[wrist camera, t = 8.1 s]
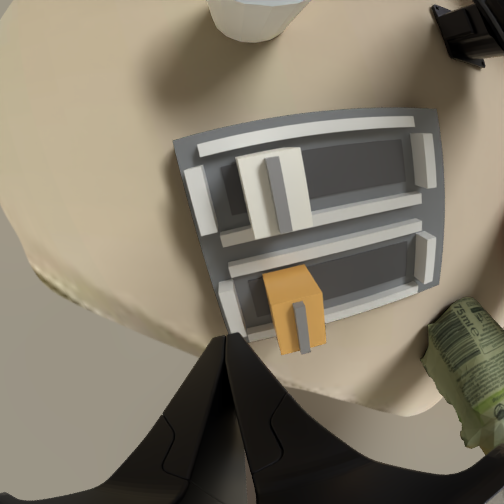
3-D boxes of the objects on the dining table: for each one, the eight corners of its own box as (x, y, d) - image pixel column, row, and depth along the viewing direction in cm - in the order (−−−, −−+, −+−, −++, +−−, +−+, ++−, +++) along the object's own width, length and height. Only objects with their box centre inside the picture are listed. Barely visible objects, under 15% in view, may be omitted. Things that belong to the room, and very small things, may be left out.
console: (422, 110, 17) (449, 108, 14) (427, 275, 23) (448, 292, 20) (178, 141, 17) (167, 139, 14) (231, 331, 23) (233, 359, 20)
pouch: (478, 319, 28) (574, 425, 4) (422, 376, 30) (499, 502, 7) (466, 275, 24) (602, 404, 1) (396, 346, 26) (501, 517, 3)
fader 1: (283, 147, 16) (303, 147, 11) (294, 208, 17) (316, 229, 13) (235, 157, 16) (238, 160, 11) (248, 219, 17) (256, 243, 13)
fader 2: (304, 263, 19) (325, 297, 14) (310, 310, 20) (328, 349, 16) (262, 274, 19) (272, 311, 14) (272, 319, 20) (283, 361, 16)
